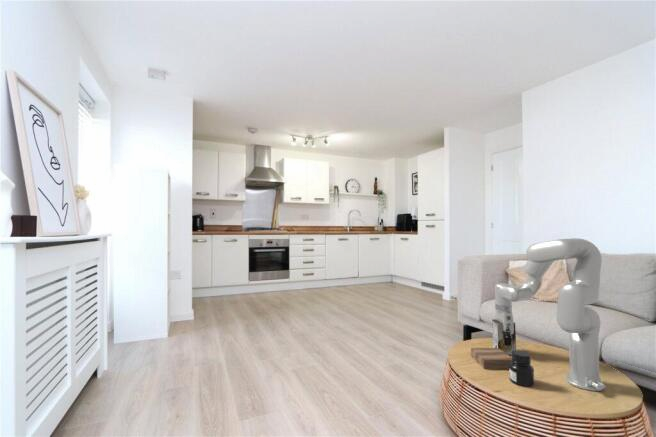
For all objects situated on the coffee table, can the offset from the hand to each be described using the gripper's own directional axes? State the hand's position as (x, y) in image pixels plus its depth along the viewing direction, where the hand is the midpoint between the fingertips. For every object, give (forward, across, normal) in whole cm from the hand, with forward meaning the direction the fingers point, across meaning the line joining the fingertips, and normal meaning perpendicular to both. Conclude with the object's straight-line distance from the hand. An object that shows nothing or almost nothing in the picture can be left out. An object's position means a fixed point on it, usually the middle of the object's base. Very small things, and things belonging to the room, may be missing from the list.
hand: (504, 342), depth 163 cm
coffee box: (+5, 0, 0) cm, 5 cm away
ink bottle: (+5, -31, +9) cm, 33 cm away
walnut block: (+5, -12, +12) cm, 18 cm away
